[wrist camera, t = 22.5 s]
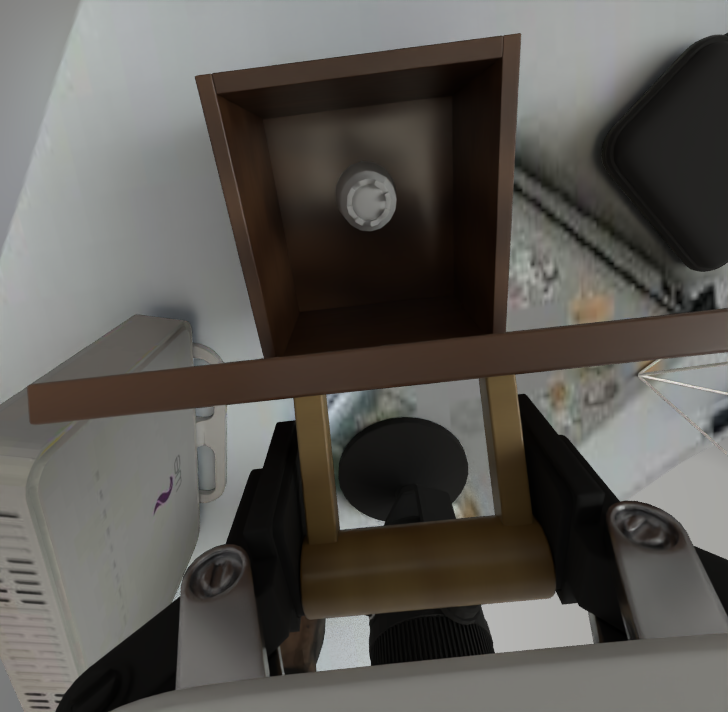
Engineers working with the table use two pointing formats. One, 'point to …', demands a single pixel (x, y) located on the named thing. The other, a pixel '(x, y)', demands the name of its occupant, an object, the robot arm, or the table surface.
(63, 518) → the network device
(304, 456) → the lid
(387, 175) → the rook chess piece
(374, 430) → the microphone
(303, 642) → the owl
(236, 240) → the chest
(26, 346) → the table surface
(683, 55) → the carrying case
